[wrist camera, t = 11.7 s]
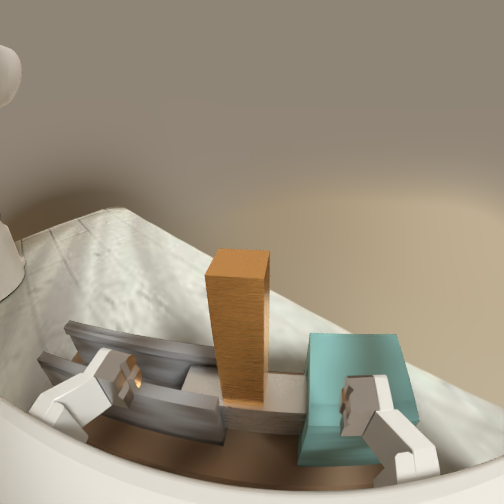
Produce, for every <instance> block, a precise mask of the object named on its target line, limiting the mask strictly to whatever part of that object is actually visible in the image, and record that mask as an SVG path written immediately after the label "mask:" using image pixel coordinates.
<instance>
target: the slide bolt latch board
mask: <svg viewBox="0 0 504 504" xmlns="http://www.w3.org/2000/svg"><path fill="white" fill-rule="evenodd" d="M64 330H65V332H66V334H68V335H70V336H71V339H72V341H73V343H74V345H75V347H76V349H77V351H78V352H77V354H76V355H75V357H74V358H73V359H72V361H69V360H66V359H63V358H60V357H57V356H55V355H52V354H49V353H47V352H43V353H42V354H41V355H40V357H39V358H38V359H37V360H38V362H39V364H40V365H41V367H42V369H43V370H44V372H45V373H46V375H47V376H48V378H49V379H50V381H51V382H52V384H53V385H54V386H56V385H58V384H60V383H62V382H64V381H66V380H68V379H70V378H71V377H73V376H75V375H77V374H79V373H84V371H85V370H86V368H87V367H88V365H89V364H90V362H91V361H92V360H93V358H94V357H95V355H96V354H97V352H98V351H99V350H100V349H101V348H107V349H111V350H115V351H119V352H123V353H127V354H131V355H134V356H135V358H136V360H137V362H136V365H137V366H138V367H139V368H140V369H141V372H142V381H141V385H140V387H139V389H138V390H136V391H135V392H133V393H134V399H133V401H132V403H131V405H130V407H129V409H127V408H123V407H119V406H116V405H112V404H111V405H112V406H110V407H109V408H108V409H106V410H105V411H104V412H102V413H101V414H100V415H98V416H97V417H96V418H94V419H93V420H92V421H90V422H89V423H88V424H86V425H85V426H83V427H82V429H83V430H84V431H85V432H86V434H87V435H88V440H87V442H86V443H87V444H90V445H92V446H94V447H97V448H99V449H101V450H104V451H106V452H109V453H111V454H114V455H117V456H119V457H122V458H125V459H128V460H131V461H133V462H136V463H139V464H143V465H146V466H149V467H152V468H156V469H159V470H163V471H166V472H170V473H174V474H178V475H182V476H186V477H190V478H195V479H199V480H204V481H209V482H215V483H220V484H226V485H233V486H240V487H248V488H258V489H269V490H285V491H340V490H355V489H367V488H374V481H373V480H374V479H375V478H376V477H377V476H378V475H379V474H380V473H381V471H382V470H383V469H384V466H383V465H382V464H381V462H380V461H379V459H378V458H377V457H376V455H375V454H374V453H373V451H372V450H371V448H370V447H369V446H368V444H367V443H366V442H365V440H364V439H363V437H362V436H340V420H341V417H342V414H341V413H340V412H339V399H340V393H341V389H342V388H344V380H345V377H346V376H355V375H386V376H387V379H388V383H389V388H390V392H391V397H392V402H393V407H394V409H398V410H399V411H400V412H401V413H402V414H403V415H404V416H405V417H406V418H407V419H408V420H409V421H410V422H411V423H412V424H413V425H414V426H416V424H417V423H418V422H419V415H418V411H417V407H416V402H415V398H414V394H413V390H412V386H411V383H410V379H409V375H408V372H407V368H406V364H405V361H404V358H403V354H402V351H401V348H400V344H399V341H398V338H397V335H396V334H324V333H310V337H309V345H308V351H307V358H306V365H305V371H304V373H288V372H273V371H268V373H272V374H286V375H306V376H308V380H307V410H306V420H305V424H304V428H303V432H302V436H300V435H282V434H268V433H258V432H248V431H240V430H232V429H225V428H223V425H222V421H221V416H220V411H219V404H220V402H219V397H218V396H211V395H205V394H199V393H193V392H187V391H182V390H181V389H182V387H183V384H184V382H185V379H186V377H187V374H188V372H189V369H190V367H191V364H193V365H200V366H207V367H214V368H218V367H217V361H216V355H215V348H214V347H212V346H204V345H196V344H189V343H182V342H175V341H169V340H163V339H157V338H151V337H145V336H140V335H134V334H129V333H124V332H119V331H114V330H109V329H104V328H100V327H95V326H91V325H87V324H82V323H78V322H74V321H69V322H68V323H67V324H66V325H65V326H64ZM54 386H53V387H54Z"/></svg>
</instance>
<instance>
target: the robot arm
mask: <svg viewBox="0 0 504 504" xmlns="http://www.w3.org/2000/svg"><path fill="white" fill-rule="evenodd" d="M21 73H22V71H21V63H20V60H19V58H18V56H17V54H16V53H15V52H14V51H13V50H12V49H10V48H7V47H4V46H2V45H0V107H2V106H4V105H6V104H7V103H9V102H10V101H11V100H12V99H13V97H14V95H15V94H16V92H17V90H18V87H19V84H20V80H21ZM0 218H1V215H0ZM25 264H26V260H25V258H24V257H20V256H19V254H18V251H17V249H16V246H15V244H14V241H13V239H12V236H11V234H10V231H9V228H8V226H7V225H5V224H3V223H2V222H1V221H0V301H1V300H2V299H4V298H5V297H6V296H8V295H9V294H10V293H11V292H13V291H14V290H15V289H16V288H17V287H18V285H19V284H20V283H21V281H22V280H23V278H24V275H25V271H24V266H25ZM136 362H137V360H136V358H135V356H134V355H131V354H127V353H123V352H119V351H115V350H111V349H107V348H101V349H100V350H99V351H98V352H97V354H96V355H95V357H94V358H93V360H92V361H91V362H90V364H89V365H88V367H87V368H86V370H85V371H84V373H79V374H77V375H75V376H73V377H71V378H70V379H68V380H66V381H64V382H62V383H60V384H58V385H56V386H54V387H52V388H51V389H49V390H47V391H45V392H43V393H41V394H40V396H39V397H38V398H37V400H36V401H35V403H34V404H33V406H32V407H31V409H30V410H29V412H28V413H25V412H24V411H22V410H20V409H19V408H17V407H16V406H14V405H12V404H11V403H9V402H8V401H6V400H5V399H3V398H2V397H0V504H504V455H502V456H500V457H497V458H495V459H492V460H489V461H487V462H484V463H481V464H478V465H475V466H472V467H469V468H466V469H463V470H459V471H456V472H452V473H449V474H445V475H441V474H440V468H439V463H438V457H437V452H436V447H435V446H434V445H433V444H432V443H431V442H430V441H429V440H428V439H427V438H426V437H425V436H424V435H423V434H422V433H421V432H420V431H419V430H418V429H417V428H416V427H415V426H414V425H413V424H412V423H411V422H410V421H409V420H408V419H407V418H406V417H405V416H404V415H403V414H402V413H401V412H400V411H399V410H398V409H394V407H393V402H392V397H391V392H390V388H389V383H388V379H387V376H386V375H355V376H346V377H345V380H344V388H342V389H341V393H340V399H339V412H340V413H341V414H342V417H341V420H340V436H362V437H363V439H364V440H365V442H366V443H367V444H368V446H369V447H370V448H371V450H372V451H373V453H374V454H375V455H376V457H377V458H378V459H379V461H380V462H381V464H382V465H383V466H384V469H383V470H382V471H381V473H380V474H379V475H378V476H377V477H376V478H375V479H374V480H373V481H374V488H367V489H355V490H340V491H285V490H269V489H258V488H248V487H240V486H233V485H226V484H220V483H214V482H209V481H203V480H198V479H194V478H189V477H185V476H180V475H176V474H172V473H168V472H165V471H161V470H158V469H154V468H151V467H147V466H144V465H141V464H138V463H135V462H132V461H129V460H126V459H123V458H120V457H117V456H115V455H112V454H109V453H107V452H104V451H102V450H99V449H97V448H95V447H92V446H90V445H87V444H86V442H87V440H88V435H87V434H86V432H85V431H84V430H83V429H82V427H83V426H85V425H86V424H88V423H89V422H90V421H92V420H93V419H94V418H96V417H97V416H98V415H100V414H101V413H102V412H104V411H105V410H106V409H108V408H109V407H110V406H112V405H116V406H119V407H123V408H127V409H129V407H130V405H131V403H132V401H133V399H134V393H133V392H135V391H136V390H138V389H139V387H140V385H141V381H142V372H141V369H140V368H139V367H138V366H137V365H136ZM111 404H112V405H111Z"/></svg>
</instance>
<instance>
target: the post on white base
mask: <svg viewBox="0 0 504 504" xmlns="http://www.w3.org/2000/svg"><path fill="white" fill-rule="evenodd" d="M205 282H206V290H207V298H208V306H209V313H210V320H211V327H212V334H213V341H214V348H215V355H216V361H217V367H218V368H214V367H207V366H200V365H193V364H191V367H190V369H189V372H188V374H187V377H186V379H185V382H184V384H183V387H182V389H181V390H182V391H187V392H193V393H199V394H205V395H211V396H218V397H219V402H220V404H219V411H220V416H221V421H222V425H223V428H225V429H232V430H240V431H248V432H258V433H268V434H282V435H300V436H302V432H303V428H304V424H305V420H306V410H307V380H308V376H306V375H286V374H272V373H268V354H269V293H270V287H269V286H270V285H269V284H270V251H262V250H241V249H218V251H217V253H216V255H215V257H214V259H213V260H212V262H211V264H210V266H209V268H208V270H207V272H206V274H205Z"/></svg>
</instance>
